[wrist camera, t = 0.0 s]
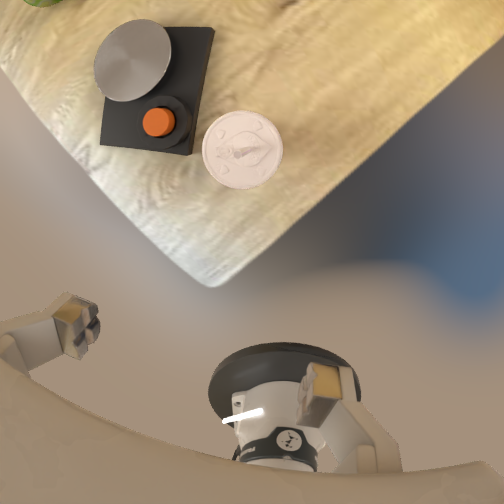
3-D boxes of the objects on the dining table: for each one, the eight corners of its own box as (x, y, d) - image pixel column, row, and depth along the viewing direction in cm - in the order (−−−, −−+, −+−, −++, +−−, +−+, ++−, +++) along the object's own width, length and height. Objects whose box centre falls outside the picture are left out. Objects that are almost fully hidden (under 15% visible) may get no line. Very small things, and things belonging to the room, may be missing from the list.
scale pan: (163, 103, 27) (161, 103, 27) (90, 101, 28) (87, 101, 27) (181, 18, 23) (179, 17, 23) (105, 24, 24) (103, 23, 23)
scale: (191, 154, 32) (182, 157, 30) (105, 143, 33) (92, 146, 30) (215, 30, 26) (207, 23, 23) (124, 32, 27) (111, 27, 24)
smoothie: (288, 170, 32) (283, 201, 19) (230, 174, 33) (187, 207, 20) (283, 112, 29) (275, 101, 16) (224, 117, 30) (175, 114, 17)
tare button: (173, 137, 29) (166, 137, 27) (148, 134, 29) (140, 134, 28) (177, 109, 28) (170, 109, 26) (152, 107, 28) (144, 107, 26)
